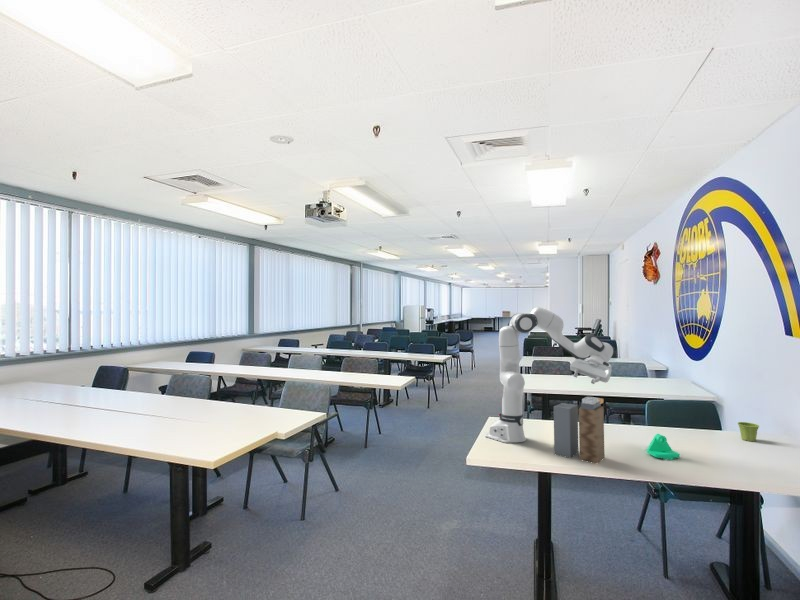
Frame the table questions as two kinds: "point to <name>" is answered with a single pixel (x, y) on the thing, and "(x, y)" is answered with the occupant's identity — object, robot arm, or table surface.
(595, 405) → the wood and grey block
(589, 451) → the walnut stand
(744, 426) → the plant pot
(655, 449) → the camera mount
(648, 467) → the table surface
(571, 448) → the grey stand
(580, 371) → the robot arm
